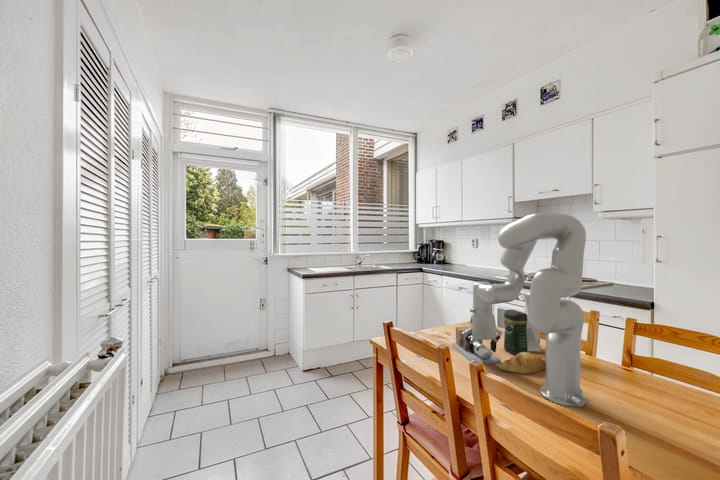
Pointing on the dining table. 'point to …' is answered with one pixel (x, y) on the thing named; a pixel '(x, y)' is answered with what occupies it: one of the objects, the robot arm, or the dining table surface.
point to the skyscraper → (531, 330)
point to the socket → (460, 335)
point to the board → (475, 355)
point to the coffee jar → (515, 332)
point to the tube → (482, 350)
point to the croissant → (524, 363)
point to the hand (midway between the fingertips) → (482, 351)
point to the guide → (465, 344)
